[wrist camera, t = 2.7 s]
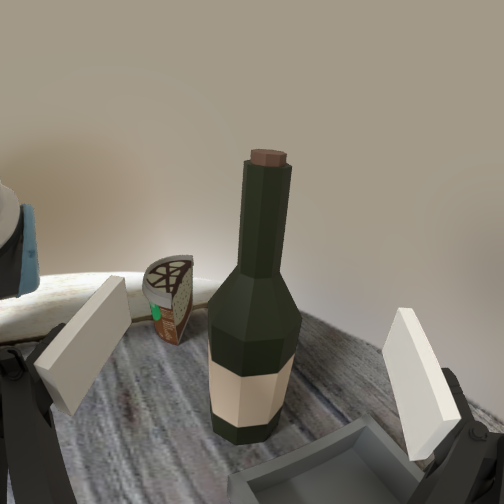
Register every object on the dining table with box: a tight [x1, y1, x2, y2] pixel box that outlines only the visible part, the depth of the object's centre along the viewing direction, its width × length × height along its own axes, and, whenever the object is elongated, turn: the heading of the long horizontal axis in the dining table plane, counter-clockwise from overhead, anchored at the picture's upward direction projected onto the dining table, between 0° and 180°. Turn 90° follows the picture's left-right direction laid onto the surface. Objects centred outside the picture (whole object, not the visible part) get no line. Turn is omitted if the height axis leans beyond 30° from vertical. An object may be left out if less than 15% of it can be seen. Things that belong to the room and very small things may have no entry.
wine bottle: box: [208, 149, 302, 445], centre depth 28 cm, size 8×8×30 cm
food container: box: [142, 255, 194, 345], centre depth 47 cm, size 12×6×10 cm, turn 175°
